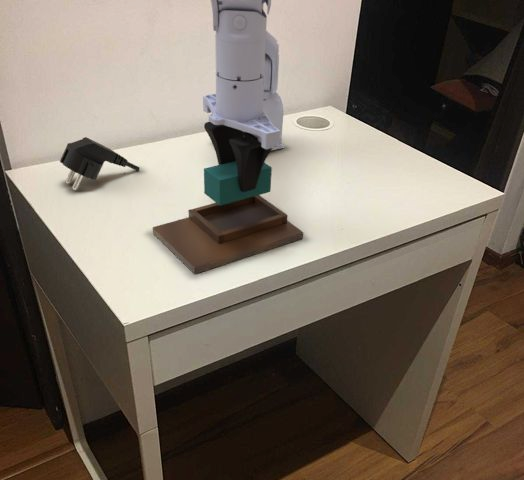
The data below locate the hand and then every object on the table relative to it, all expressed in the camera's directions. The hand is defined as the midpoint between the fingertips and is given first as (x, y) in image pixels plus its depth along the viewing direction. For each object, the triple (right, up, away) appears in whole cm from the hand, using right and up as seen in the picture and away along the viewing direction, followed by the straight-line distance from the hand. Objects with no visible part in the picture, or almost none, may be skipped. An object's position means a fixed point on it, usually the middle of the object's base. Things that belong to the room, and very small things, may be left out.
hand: (238, 182), depth 77 cm
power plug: (-22, +4, +14) cm, 26 cm away
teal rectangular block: (0, -1, +1) cm, 1 cm away
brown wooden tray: (-1, -7, +2) cm, 7 cm away
